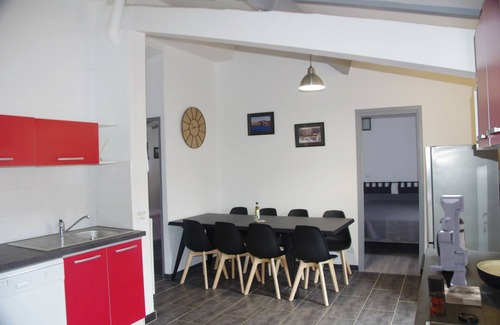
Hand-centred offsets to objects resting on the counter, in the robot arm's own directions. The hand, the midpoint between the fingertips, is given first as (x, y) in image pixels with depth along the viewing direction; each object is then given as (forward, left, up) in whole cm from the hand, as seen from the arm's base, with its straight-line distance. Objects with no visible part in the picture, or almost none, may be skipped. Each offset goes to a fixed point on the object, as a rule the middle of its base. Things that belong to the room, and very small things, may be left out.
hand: (448, 287), depth 180 cm
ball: (0, +1, 0) cm, 1 cm away
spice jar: (+22, -4, -4) cm, 23 cm away
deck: (-1, +4, -4) cm, 6 cm away
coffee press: (-58, +1, -4) cm, 58 cm away
